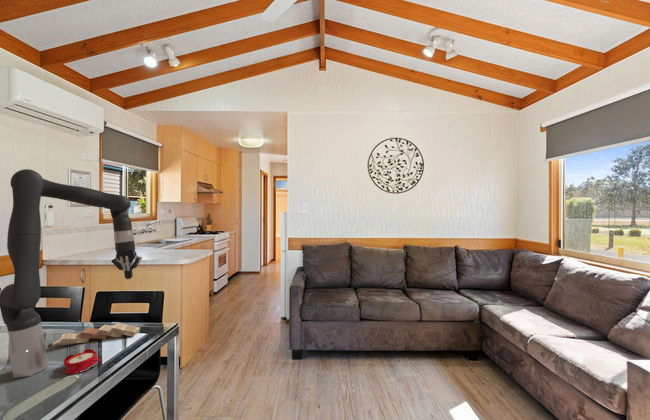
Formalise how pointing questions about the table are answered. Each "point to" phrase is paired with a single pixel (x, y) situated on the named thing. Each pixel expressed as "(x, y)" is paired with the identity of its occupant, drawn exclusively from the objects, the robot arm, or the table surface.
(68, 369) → the alarm clock
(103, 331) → the domino
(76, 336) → the domino
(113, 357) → the table surface
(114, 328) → the domino
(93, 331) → the gap domino
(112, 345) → the table surface
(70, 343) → the domino
